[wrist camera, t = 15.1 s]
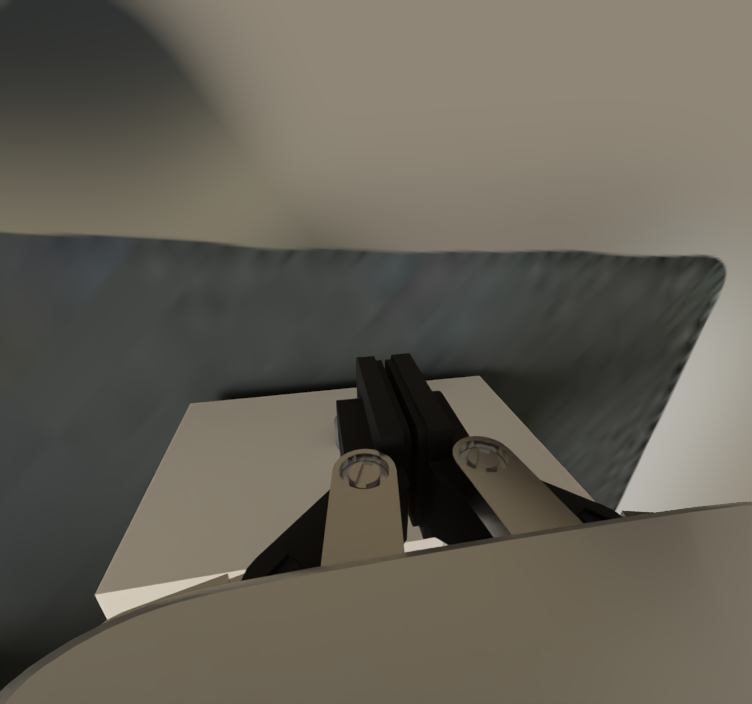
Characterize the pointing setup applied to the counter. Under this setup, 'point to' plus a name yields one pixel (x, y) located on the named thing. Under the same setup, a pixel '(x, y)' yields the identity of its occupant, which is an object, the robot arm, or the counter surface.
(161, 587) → the drawer
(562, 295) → the counter surface
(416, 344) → the counter surface
